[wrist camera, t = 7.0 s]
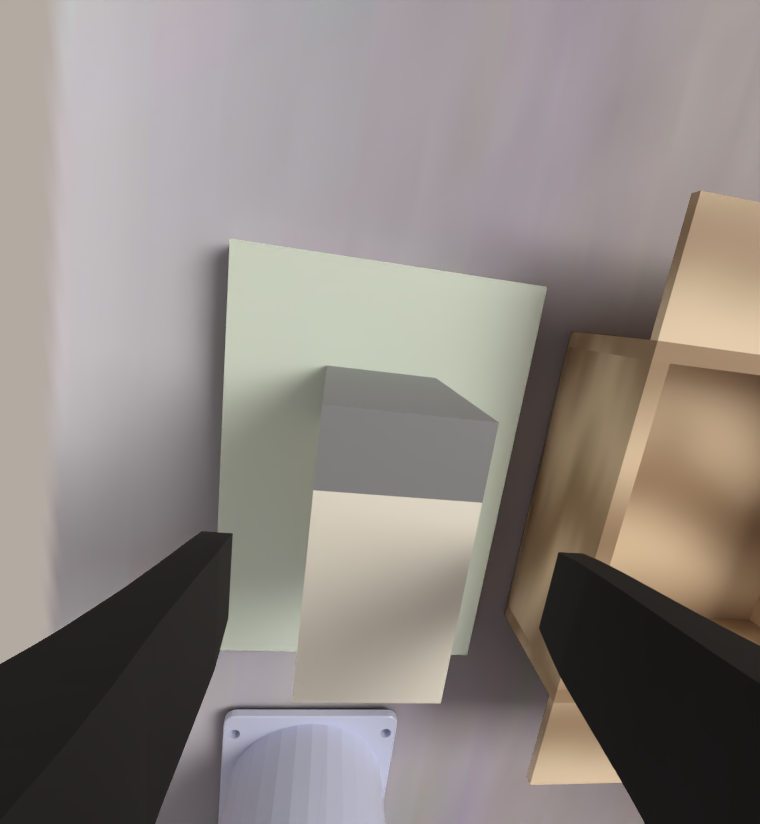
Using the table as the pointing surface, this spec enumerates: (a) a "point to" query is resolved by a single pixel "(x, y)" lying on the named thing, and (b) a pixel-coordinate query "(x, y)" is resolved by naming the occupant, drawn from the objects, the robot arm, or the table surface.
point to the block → (389, 537)
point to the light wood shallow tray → (654, 464)
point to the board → (303, 393)
